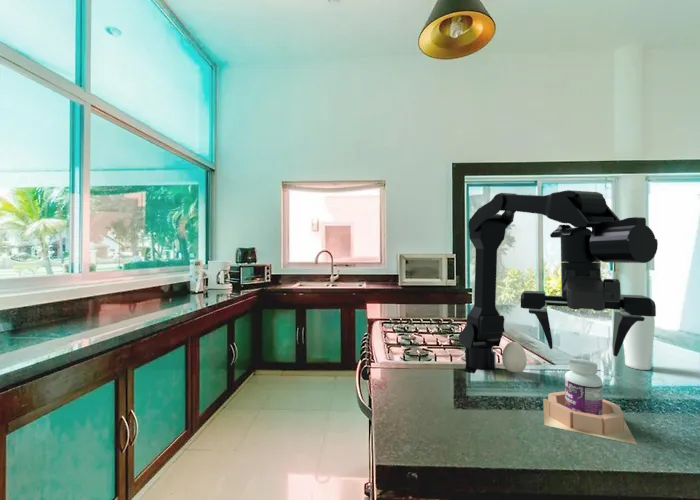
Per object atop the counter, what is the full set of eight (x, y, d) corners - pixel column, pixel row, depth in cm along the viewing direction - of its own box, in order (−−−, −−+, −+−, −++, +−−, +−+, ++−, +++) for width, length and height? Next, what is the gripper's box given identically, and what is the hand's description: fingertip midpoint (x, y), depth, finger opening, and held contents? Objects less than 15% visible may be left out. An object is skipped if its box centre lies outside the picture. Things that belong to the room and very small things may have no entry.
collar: (549, 424, 56) (549, 408, 56) (547, 400, 65) (547, 387, 65) (629, 440, 51) (628, 423, 51) (615, 412, 60) (615, 398, 60)
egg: (503, 376, 81) (502, 343, 82) (501, 369, 87) (501, 338, 87) (528, 379, 80) (528, 345, 80) (525, 371, 85) (524, 340, 85)
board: (544, 431, 56) (544, 424, 56) (543, 403, 66) (543, 398, 66) (637, 451, 50) (637, 444, 50) (620, 417, 60) (620, 412, 60)
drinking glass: (662, 372, 84) (661, 312, 84) (631, 370, 85) (630, 311, 85) (644, 364, 90) (643, 308, 91) (615, 362, 92) (614, 307, 92)
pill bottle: (557, 411, 61) (557, 357, 61) (585, 410, 61) (584, 356, 61) (581, 426, 55) (580, 367, 55) (611, 425, 56) (610, 366, 56)
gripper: (518, 262, 56) (519, 356, 56) (666, 263, 47) (669, 375, 47) (521, 262, 66) (522, 341, 66) (644, 262, 57) (646, 355, 57)
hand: (581, 351), depth 58 cm, fingers open, 9 cm apart
